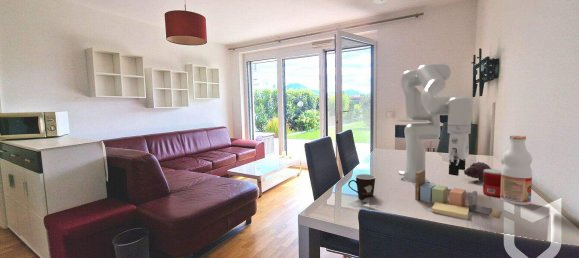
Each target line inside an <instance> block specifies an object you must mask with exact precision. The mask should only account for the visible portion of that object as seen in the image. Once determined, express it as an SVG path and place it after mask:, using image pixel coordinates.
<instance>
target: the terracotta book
mask: <svg viewBox="0 0 579 258" xmlns="http://www.w3.org/2000/svg"><path fill="white" fill-rule="evenodd" d="M448 192H449V194H448V195H449V196H448V200H449V205H455V206H460V207H463V206H464V205H465V204H466V201H467V200H466V197H467V194H466V193H467V189H465V188H457V187H453V188H451V190H450V191H448Z"/></svg>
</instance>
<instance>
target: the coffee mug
mask: <svg viewBox="0 0 579 258" xmlns="http://www.w3.org/2000/svg"><path fill="white" fill-rule="evenodd" d="M352 182H354V183H355V184H356V189H357V190H356V189H354V188H352V187H351V183H352ZM375 183H376V176H375V175H373V174H370V173H369V174H367V173H362V174H361V173H360V174H356V175H355V180H354V179H351V180H349V181H348V185H347V186H348V188H350V189H351V190H352V191H354V192H356V193H357V197H358V199H359V200H361V201H364V200H365V199H368V198H373V197H374V193H375V192H374V191H375V186H376V185H375Z"/></svg>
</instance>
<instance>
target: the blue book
mask: <svg viewBox="0 0 579 258" xmlns="http://www.w3.org/2000/svg"><path fill="white" fill-rule="evenodd" d="M436 185H437V184H436V183H435V184H434V183H429V182H428V183H425V184H423V185H421V186H420V200H422V201H421V202H423V201H427V202H426V203H428V202H431V201H432V188H433V187H435V186H436Z"/></svg>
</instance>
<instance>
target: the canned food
mask: <svg viewBox="0 0 579 258" xmlns="http://www.w3.org/2000/svg"><path fill="white" fill-rule="evenodd" d="M501 170H502V169H495V168H491V169H485V170H484V171H483V181H482V193H483V194H484V195H485V196H488V197H492V198H500V194H501Z"/></svg>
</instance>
